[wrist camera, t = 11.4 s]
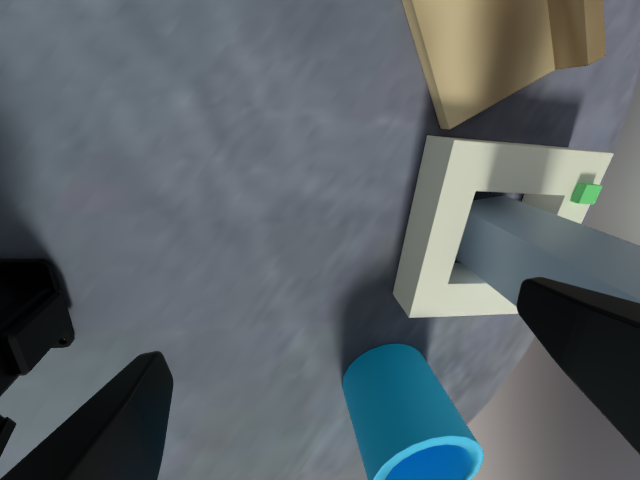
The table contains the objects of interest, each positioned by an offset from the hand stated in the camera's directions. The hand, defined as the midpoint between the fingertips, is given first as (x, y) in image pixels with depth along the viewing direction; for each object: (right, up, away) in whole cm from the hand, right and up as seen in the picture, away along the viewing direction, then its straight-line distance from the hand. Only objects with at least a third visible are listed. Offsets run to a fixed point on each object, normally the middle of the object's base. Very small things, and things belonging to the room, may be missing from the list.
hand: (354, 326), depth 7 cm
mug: (+6, -12, +21) cm, 25 cm away
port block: (+11, +3, +15) cm, 19 cm away
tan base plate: (+8, +14, +10) cm, 19 cm away
